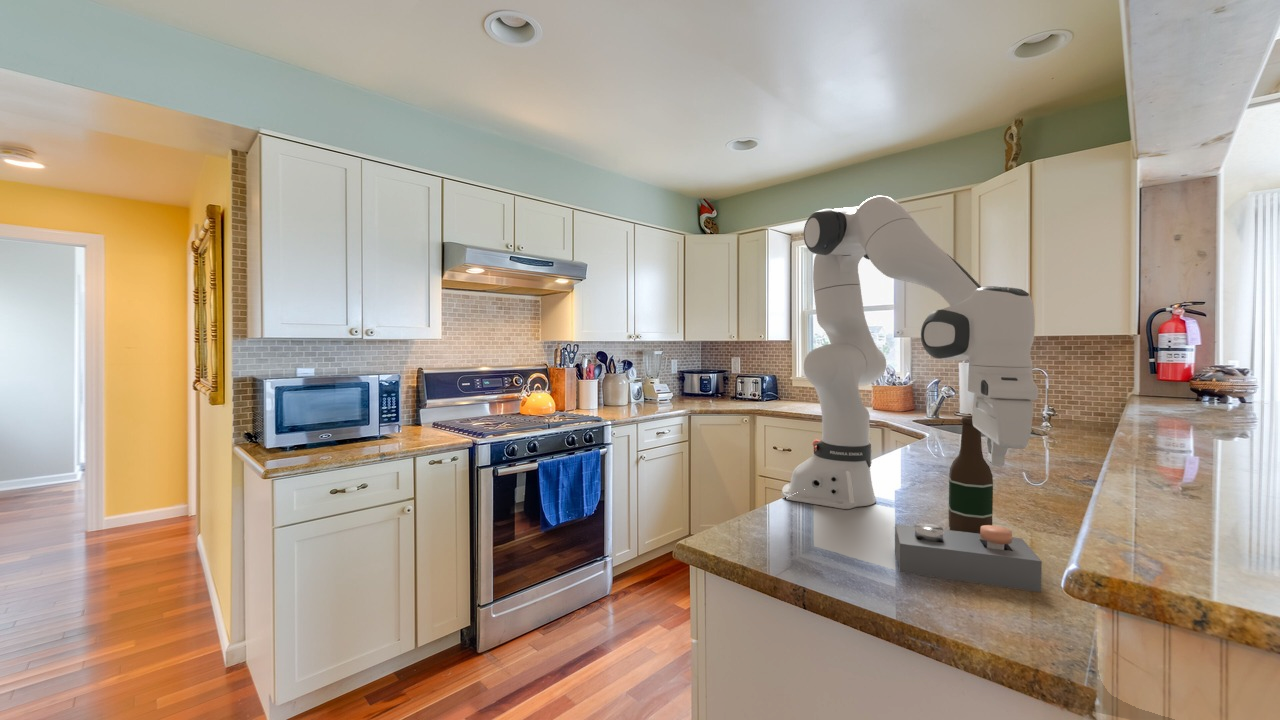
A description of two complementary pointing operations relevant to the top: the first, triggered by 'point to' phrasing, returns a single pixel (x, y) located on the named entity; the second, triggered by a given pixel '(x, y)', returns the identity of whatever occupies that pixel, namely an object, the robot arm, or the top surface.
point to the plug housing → (968, 559)
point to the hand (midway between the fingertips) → (995, 464)
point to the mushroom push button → (995, 536)
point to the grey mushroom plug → (929, 532)
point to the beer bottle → (970, 484)
